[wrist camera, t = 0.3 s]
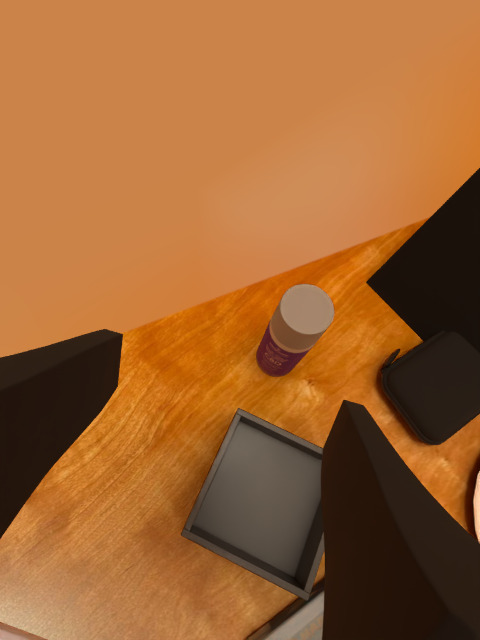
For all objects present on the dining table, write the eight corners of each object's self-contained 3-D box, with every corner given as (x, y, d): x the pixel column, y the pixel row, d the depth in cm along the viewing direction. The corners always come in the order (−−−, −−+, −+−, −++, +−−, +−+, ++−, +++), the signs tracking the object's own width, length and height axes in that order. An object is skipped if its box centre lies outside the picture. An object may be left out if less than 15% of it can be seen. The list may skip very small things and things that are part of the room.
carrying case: (449, 313, 48) (362, 372, 44) (464, 304, 45) (372, 365, 41) (509, 384, 45) (421, 453, 41) (529, 378, 42) (437, 452, 38)
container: (253, 372, 43) (274, 329, 29) (259, 334, 45) (282, 277, 31) (292, 380, 43) (333, 341, 29) (297, 342, 45) (338, 288, 31)
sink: (296, 585, 36) (307, 601, 32) (183, 527, 37) (180, 535, 33) (337, 462, 40) (352, 462, 36) (235, 413, 41) (238, 407, 37)
